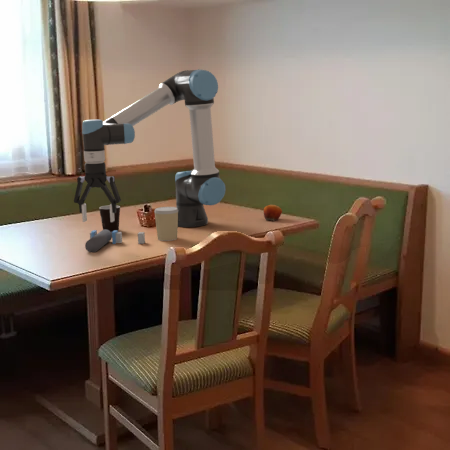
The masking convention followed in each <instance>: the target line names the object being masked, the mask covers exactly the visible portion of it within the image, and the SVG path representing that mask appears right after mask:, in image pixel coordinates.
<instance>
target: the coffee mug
mask: <svg viewBox="0 0 450 450" xmlns="http://www.w3.org/2000/svg"><path fill="white" fill-rule="evenodd" d="M98 210H99V215H100V222H101V226H102V230H104V229H107V230H109V231H110V232H111V233H112V232H113V231H114V230H119V231H120V211H121V206H120V205H117V204H116V210H117V211H116V213H114V219H115V221H113V222H111V221H110V204H109V205H102V206H99V208H98Z"/></svg>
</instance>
